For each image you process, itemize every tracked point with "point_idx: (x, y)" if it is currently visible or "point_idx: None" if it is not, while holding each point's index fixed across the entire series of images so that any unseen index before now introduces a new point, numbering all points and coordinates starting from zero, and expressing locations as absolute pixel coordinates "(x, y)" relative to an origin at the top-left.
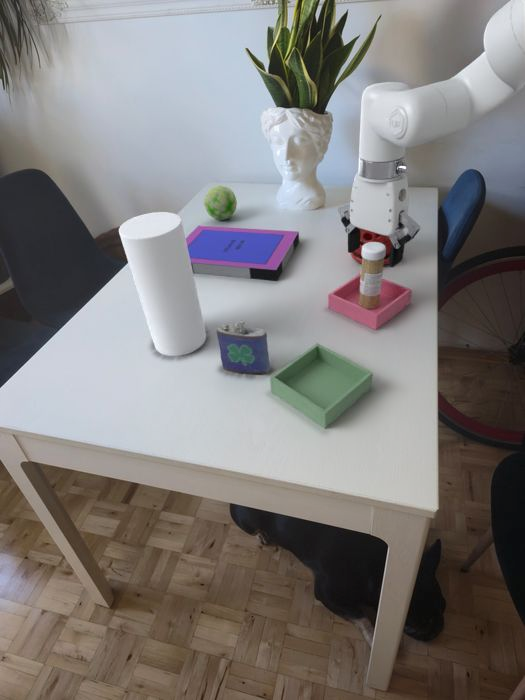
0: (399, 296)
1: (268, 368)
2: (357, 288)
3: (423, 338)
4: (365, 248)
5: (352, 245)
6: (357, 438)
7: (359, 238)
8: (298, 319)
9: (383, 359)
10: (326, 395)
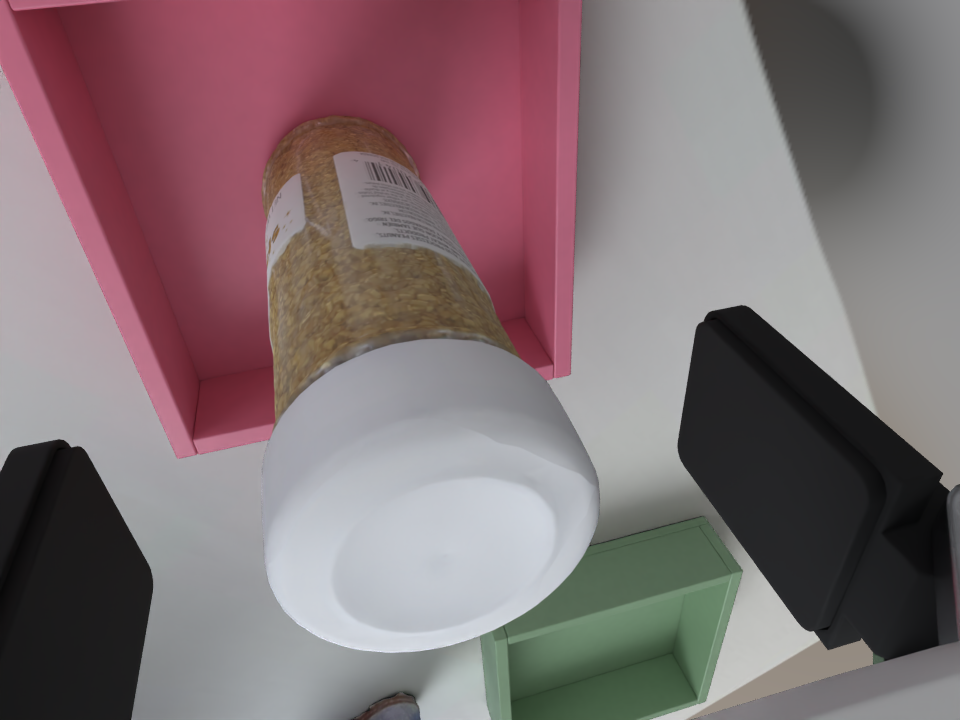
0: (560, 109)
1: (418, 712)
2: (88, 94)
3: (757, 190)
4: (400, 643)
5: (130, 647)
6: (750, 608)
7: (43, 586)
8: (189, 542)
9: (671, 415)
10: (623, 623)
